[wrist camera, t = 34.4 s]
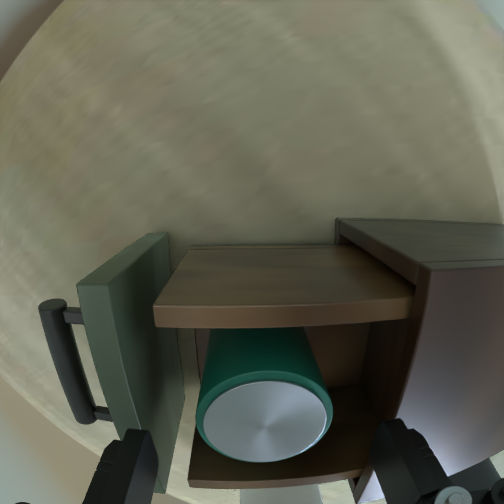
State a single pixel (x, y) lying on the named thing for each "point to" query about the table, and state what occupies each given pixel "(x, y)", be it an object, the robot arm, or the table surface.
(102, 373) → the drawer
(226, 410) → the can
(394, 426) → the robot arm
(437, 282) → the cabinet
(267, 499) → the cylindrical container
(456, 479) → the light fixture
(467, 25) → the table surface
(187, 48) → the table surface
